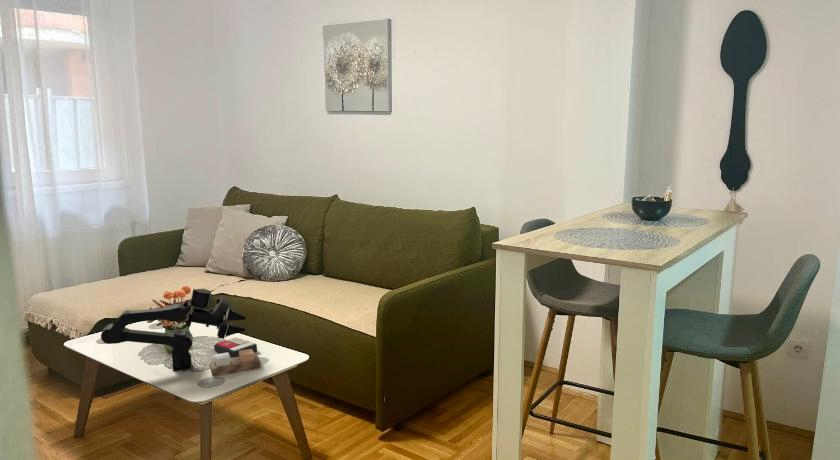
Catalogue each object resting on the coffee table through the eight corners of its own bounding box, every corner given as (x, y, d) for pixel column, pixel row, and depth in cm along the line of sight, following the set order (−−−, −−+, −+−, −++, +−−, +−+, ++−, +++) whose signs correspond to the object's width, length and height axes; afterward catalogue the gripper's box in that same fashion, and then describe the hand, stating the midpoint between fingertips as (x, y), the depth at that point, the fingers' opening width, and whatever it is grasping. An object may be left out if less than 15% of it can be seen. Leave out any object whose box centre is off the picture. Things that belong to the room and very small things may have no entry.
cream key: (217, 369, 236) (216, 359, 235) (215, 364, 240) (214, 354, 239) (230, 366, 238) (230, 356, 237) (228, 362, 242) (228, 352, 241)
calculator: (236, 335, 267) (257, 342, 257) (237, 345, 268) (257, 352, 258) (213, 343, 259) (234, 349, 249) (214, 353, 259) (235, 360, 250)
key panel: (212, 376, 234) (211, 369, 233) (210, 368, 241) (209, 361, 240) (260, 368, 241) (260, 360, 241) (257, 360, 248) (256, 353, 248)
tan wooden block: (241, 365, 239) (240, 355, 239) (239, 360, 244) (238, 350, 243) (254, 362, 241) (254, 353, 241) (252, 358, 246) (251, 348, 245)
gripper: (208, 310, 232) (250, 317, 237) (211, 288, 248) (250, 295, 254) (201, 336, 235) (243, 342, 240) (205, 312, 251) (243, 319, 257)
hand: (245, 323), depth 247 cm, fingers open, 9 cm apart
